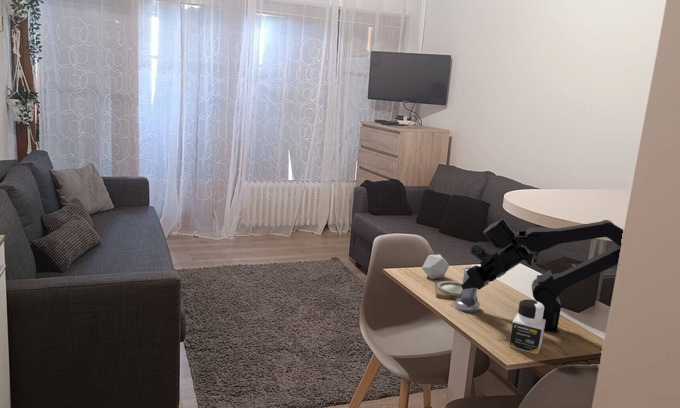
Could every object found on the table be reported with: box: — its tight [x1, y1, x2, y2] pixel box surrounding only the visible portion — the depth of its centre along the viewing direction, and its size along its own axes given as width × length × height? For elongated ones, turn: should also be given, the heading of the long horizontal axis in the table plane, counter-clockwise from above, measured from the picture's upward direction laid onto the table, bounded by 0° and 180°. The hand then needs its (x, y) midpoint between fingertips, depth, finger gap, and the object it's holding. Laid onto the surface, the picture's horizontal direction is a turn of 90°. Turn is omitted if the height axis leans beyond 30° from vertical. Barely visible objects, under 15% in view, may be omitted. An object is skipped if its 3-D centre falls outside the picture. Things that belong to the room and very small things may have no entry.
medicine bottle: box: [508, 299, 545, 355], centre depth 143 cm, size 7×7×12 cm
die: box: [421, 253, 450, 280], centre depth 192 cm, size 8×9×10 cm
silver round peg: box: [454, 267, 480, 314], centre depth 166 cm, size 7×7×12 cm
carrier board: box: [434, 280, 463, 301], centre depth 179 cm, size 12×12×2 cm
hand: (465, 285), depth 166 cm, fingers closed on silver round peg, 4 cm apart
